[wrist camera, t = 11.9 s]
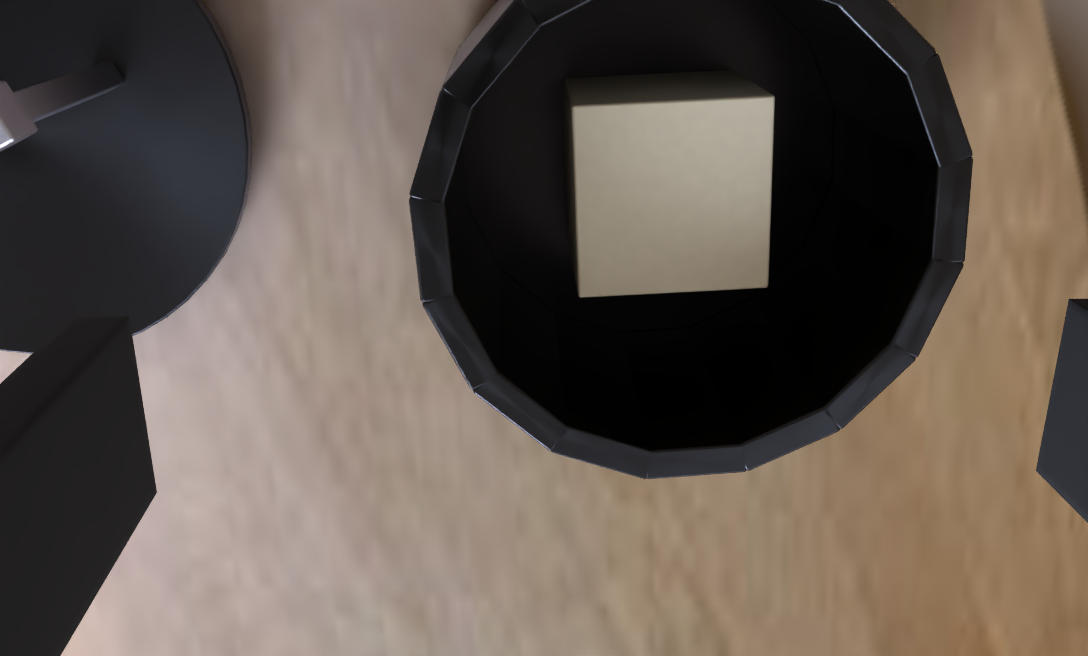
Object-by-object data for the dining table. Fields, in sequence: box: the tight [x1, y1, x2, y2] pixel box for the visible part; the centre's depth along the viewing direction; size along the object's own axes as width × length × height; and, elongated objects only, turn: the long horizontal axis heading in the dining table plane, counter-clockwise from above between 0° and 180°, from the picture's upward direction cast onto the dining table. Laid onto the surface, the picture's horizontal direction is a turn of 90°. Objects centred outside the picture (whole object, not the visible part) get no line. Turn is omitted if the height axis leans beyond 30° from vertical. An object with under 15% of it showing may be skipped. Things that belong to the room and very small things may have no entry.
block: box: [562, 70, 775, 297], centre depth 29 cm, size 5×5×5 cm
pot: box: [409, 0, 973, 479], centre depth 27 cm, size 13×13×8 cm
